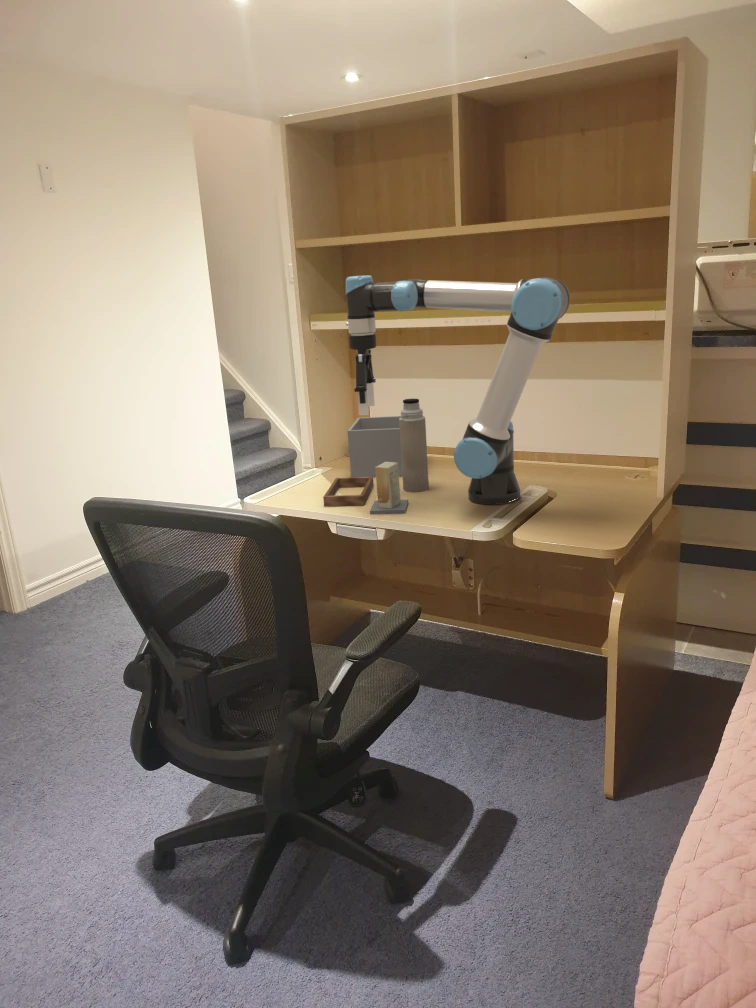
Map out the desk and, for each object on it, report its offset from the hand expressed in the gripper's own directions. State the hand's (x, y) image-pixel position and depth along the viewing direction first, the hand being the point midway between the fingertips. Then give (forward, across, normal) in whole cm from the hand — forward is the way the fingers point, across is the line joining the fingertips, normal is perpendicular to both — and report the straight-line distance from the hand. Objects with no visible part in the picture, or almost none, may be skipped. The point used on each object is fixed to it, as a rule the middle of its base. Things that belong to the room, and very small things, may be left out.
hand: (366, 410), depth 220 cm
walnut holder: (+28, -10, -8) cm, 31 cm away
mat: (+28, +4, +5) cm, 29 cm away
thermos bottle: (+28, -16, +12) cm, 34 cm away
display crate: (+28, -42, 0) cm, 51 cm away
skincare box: (+27, +4, +5) cm, 28 cm away
